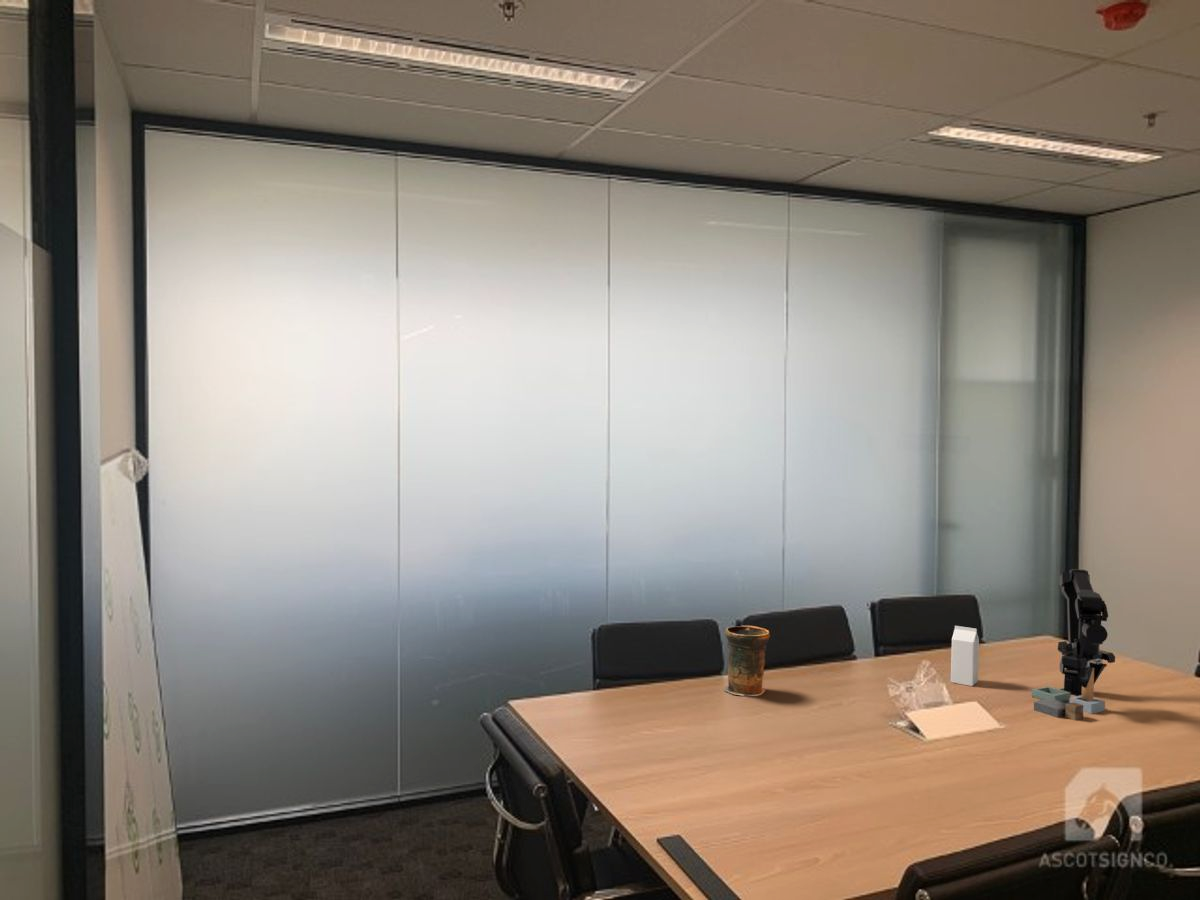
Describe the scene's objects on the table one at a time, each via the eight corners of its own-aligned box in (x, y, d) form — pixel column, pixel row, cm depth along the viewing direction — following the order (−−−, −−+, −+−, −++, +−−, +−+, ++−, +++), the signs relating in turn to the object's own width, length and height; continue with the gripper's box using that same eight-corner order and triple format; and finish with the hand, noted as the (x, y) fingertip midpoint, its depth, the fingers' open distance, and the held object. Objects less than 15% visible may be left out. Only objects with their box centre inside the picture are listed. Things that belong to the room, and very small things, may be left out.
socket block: (1082, 704, 274) (1083, 695, 274) (1104, 710, 268) (1105, 701, 268) (1069, 707, 271) (1069, 697, 271) (1091, 713, 265) (1091, 704, 265)
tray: (1047, 693, 286) (1047, 686, 286) (1070, 700, 279) (1070, 692, 279) (1031, 696, 282) (1031, 689, 282) (1054, 703, 275) (1054, 695, 275)
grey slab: (1050, 708, 271) (1050, 698, 271) (1074, 715, 264) (1074, 705, 264) (1033, 711, 268) (1034, 701, 268) (1057, 719, 261) (1058, 709, 261)
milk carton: (972, 686, 292) (973, 630, 292) (950, 682, 297) (951, 627, 296) (977, 682, 298) (979, 627, 298) (956, 678, 302) (957, 624, 302)
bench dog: (1073, 715, 263) (1073, 702, 263) (1083, 718, 261) (1083, 705, 260) (1065, 717, 261) (1065, 704, 261) (1074, 720, 259) (1075, 706, 259)
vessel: (769, 699, 274) (770, 635, 274) (723, 696, 276) (725, 633, 276) (767, 686, 288) (769, 626, 288) (724, 683, 291) (725, 624, 290)
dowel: (1085, 697, 272) (1086, 665, 272) (1095, 700, 269) (1096, 668, 269) (1079, 698, 270) (1080, 666, 270) (1089, 701, 267) (1090, 669, 267)
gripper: (1082, 628, 281) (1080, 676, 281) (1046, 633, 272) (1044, 683, 272) (1116, 635, 271) (1115, 685, 271) (1080, 641, 262) (1079, 692, 262)
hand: (1087, 686), depth 270 cm, fingers closed on dowel, 3 cm apart
